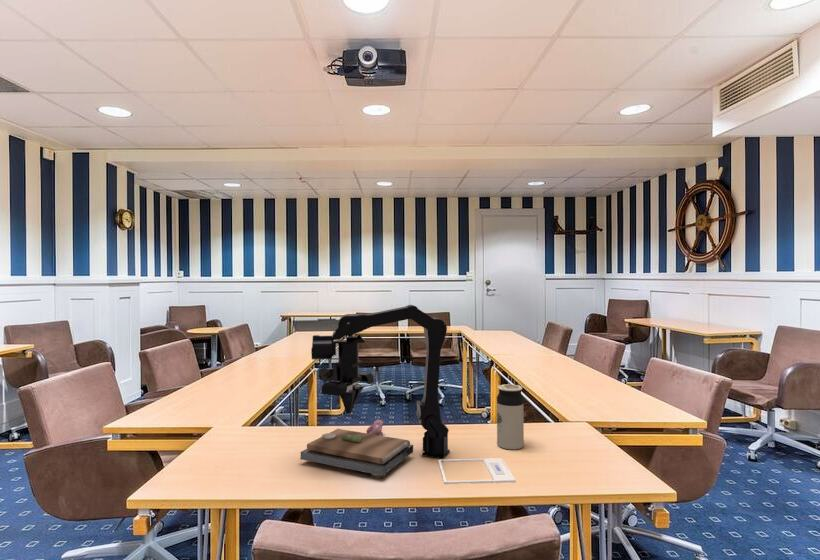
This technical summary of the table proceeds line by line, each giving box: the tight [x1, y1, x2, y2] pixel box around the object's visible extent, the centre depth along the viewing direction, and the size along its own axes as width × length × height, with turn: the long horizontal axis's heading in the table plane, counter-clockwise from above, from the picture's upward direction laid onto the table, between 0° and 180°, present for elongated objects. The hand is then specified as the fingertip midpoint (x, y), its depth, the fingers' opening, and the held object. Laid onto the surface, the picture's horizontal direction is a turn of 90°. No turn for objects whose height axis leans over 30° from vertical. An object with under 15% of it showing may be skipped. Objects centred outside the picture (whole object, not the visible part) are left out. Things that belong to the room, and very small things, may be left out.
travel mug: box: [496, 383, 525, 450], centre depth 141 cm, size 8×8×18 cm
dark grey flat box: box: [300, 444, 414, 479], centre depth 130 cm, size 26×18×4 cm
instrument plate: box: [306, 428, 411, 464], centre depth 129 cm, size 25×15×3 cm, turn 64°
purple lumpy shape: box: [365, 419, 384, 436], centre depth 148 cm, size 10×5×7 cm, turn 0°
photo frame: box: [437, 457, 517, 485], centre depth 122 cm, size 15×1×18 cm
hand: (348, 413), depth 131 cm, fingers closed
